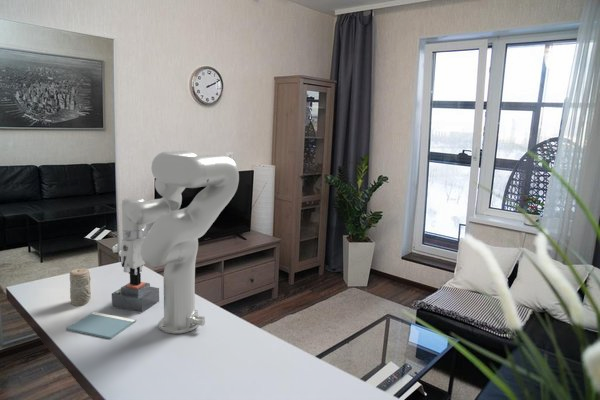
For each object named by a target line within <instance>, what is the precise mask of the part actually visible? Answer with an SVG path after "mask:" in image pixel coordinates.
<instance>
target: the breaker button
mask: <svg viewBox="0 0 600 400" xmlns="http://www.w3.org/2000/svg"><path fill="white" fill-rule="evenodd" d="M128 283H129V284H128ZM128 283H126V284H127V285H126V284H125V285H126V287H128V288H133V289H139V288H140V287H142V286H144V285H145V283H146V282H145V283H144V281H141V284H139V285H133V284H130V282H128Z"/></svg>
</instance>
